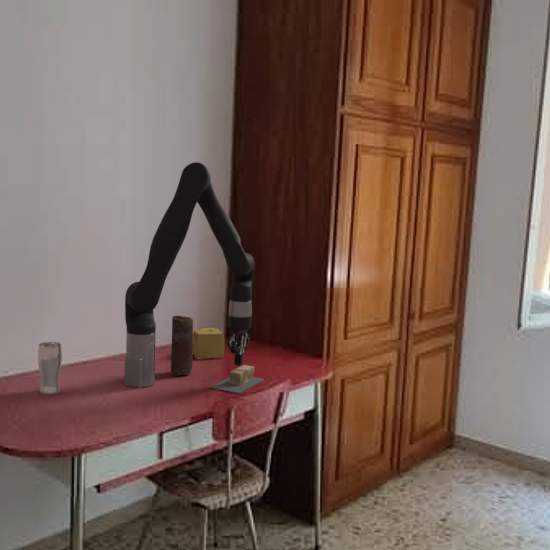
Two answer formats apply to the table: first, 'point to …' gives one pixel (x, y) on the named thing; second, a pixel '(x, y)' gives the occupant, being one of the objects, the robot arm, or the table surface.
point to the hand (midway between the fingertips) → (238, 365)
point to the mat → (234, 388)
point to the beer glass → (49, 366)
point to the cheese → (208, 343)
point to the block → (241, 375)
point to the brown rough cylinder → (181, 345)
